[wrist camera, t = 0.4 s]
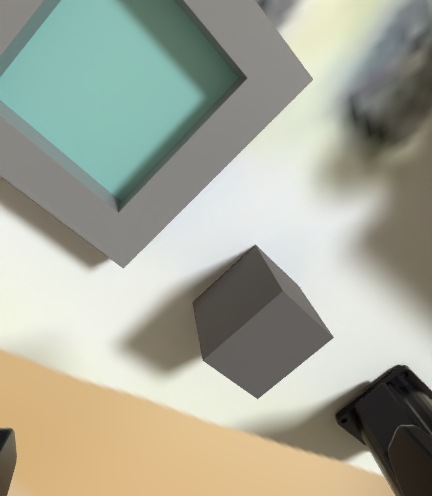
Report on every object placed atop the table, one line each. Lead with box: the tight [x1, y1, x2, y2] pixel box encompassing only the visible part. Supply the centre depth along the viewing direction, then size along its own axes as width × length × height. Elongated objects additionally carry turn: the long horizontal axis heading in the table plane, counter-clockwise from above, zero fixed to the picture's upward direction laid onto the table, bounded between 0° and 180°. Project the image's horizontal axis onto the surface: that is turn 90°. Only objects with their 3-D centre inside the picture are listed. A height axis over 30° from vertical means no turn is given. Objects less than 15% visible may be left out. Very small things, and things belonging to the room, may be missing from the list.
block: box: [193, 245, 334, 399], centre depth 20 cm, size 4×5×5 cm
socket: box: [0, 0, 313, 268], centre depth 16 cm, size 11×12×2 cm
